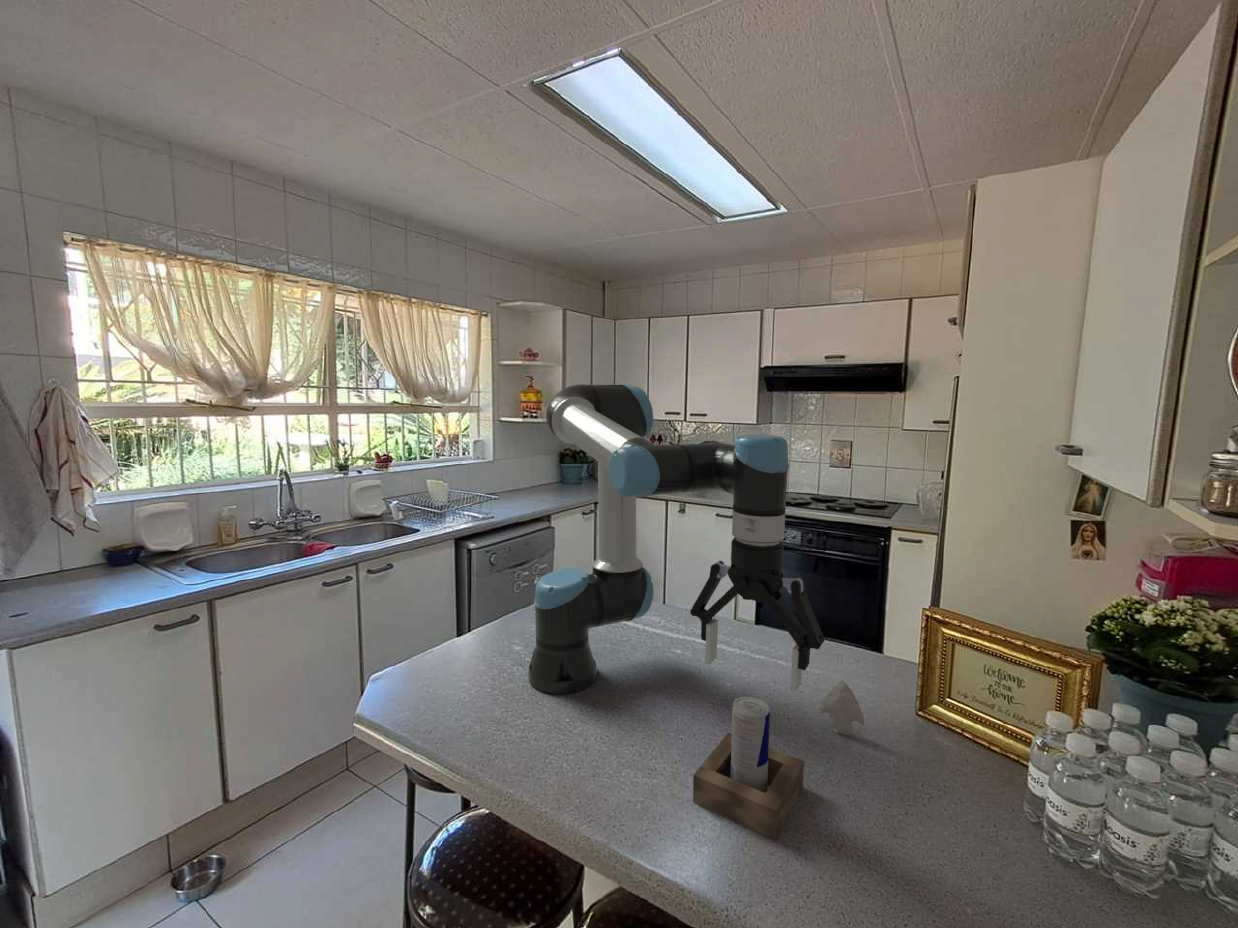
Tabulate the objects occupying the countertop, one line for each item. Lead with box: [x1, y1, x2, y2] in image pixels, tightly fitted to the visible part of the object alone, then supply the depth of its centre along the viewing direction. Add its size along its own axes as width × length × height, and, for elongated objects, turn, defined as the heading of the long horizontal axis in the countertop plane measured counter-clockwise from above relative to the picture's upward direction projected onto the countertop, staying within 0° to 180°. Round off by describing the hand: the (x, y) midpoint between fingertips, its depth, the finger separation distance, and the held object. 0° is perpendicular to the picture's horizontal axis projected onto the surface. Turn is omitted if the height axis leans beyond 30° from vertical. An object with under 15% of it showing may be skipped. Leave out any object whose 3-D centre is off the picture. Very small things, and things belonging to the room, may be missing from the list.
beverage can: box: [730, 696, 771, 793], centre depth 85 cm, size 6×6×15 cm
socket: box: [692, 732, 805, 841], centre depth 86 cm, size 13×13×4 cm
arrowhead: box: [819, 680, 865, 737], centre depth 102 cm, size 8×3×10 cm, turn 54°
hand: (751, 673), depth 84 cm, fingers open, 13 cm apart
